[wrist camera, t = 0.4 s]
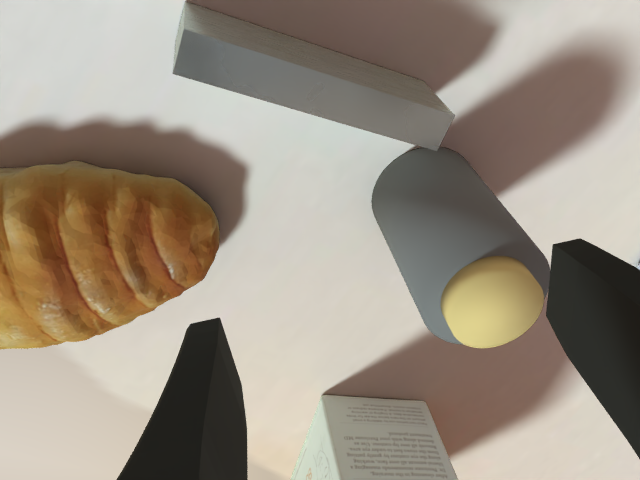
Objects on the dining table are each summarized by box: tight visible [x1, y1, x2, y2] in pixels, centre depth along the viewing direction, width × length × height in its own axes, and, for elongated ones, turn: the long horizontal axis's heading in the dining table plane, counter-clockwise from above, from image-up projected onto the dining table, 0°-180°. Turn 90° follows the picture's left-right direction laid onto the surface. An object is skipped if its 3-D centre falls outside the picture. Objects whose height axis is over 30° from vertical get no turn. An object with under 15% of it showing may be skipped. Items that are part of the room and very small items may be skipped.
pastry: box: [0, 161, 220, 349], centre depth 20 cm, size 9×7×4 cm
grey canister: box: [372, 147, 550, 348], centre depth 20 cm, size 4×4×7 cm
